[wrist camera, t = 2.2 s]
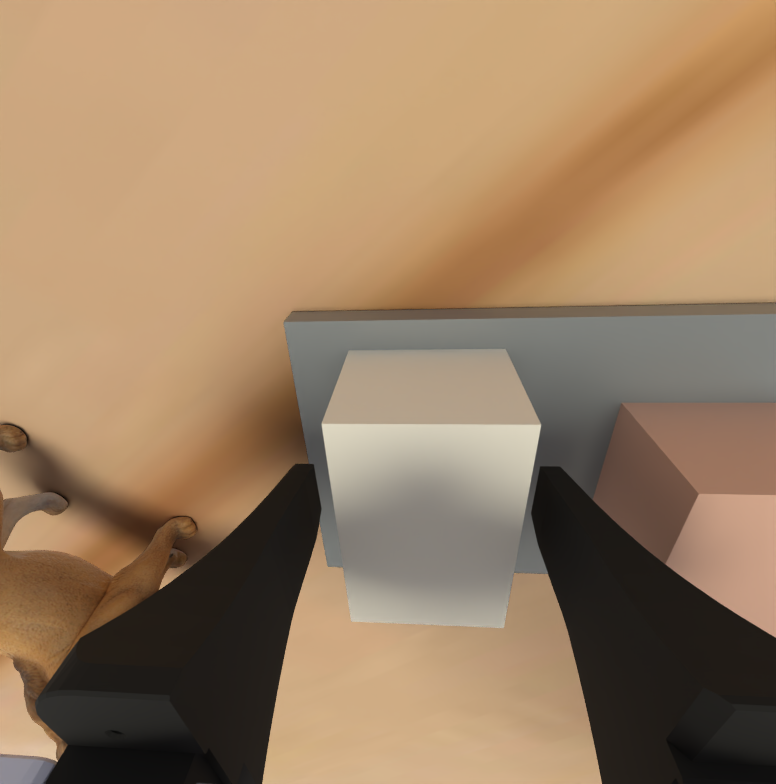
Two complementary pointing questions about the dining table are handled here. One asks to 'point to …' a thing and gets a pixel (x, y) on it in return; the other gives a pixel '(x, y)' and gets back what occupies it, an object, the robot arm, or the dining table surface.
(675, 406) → the terracotta brick
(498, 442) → the cream brick
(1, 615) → the lion figurine
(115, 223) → the dining table surface
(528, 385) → the baseplate
